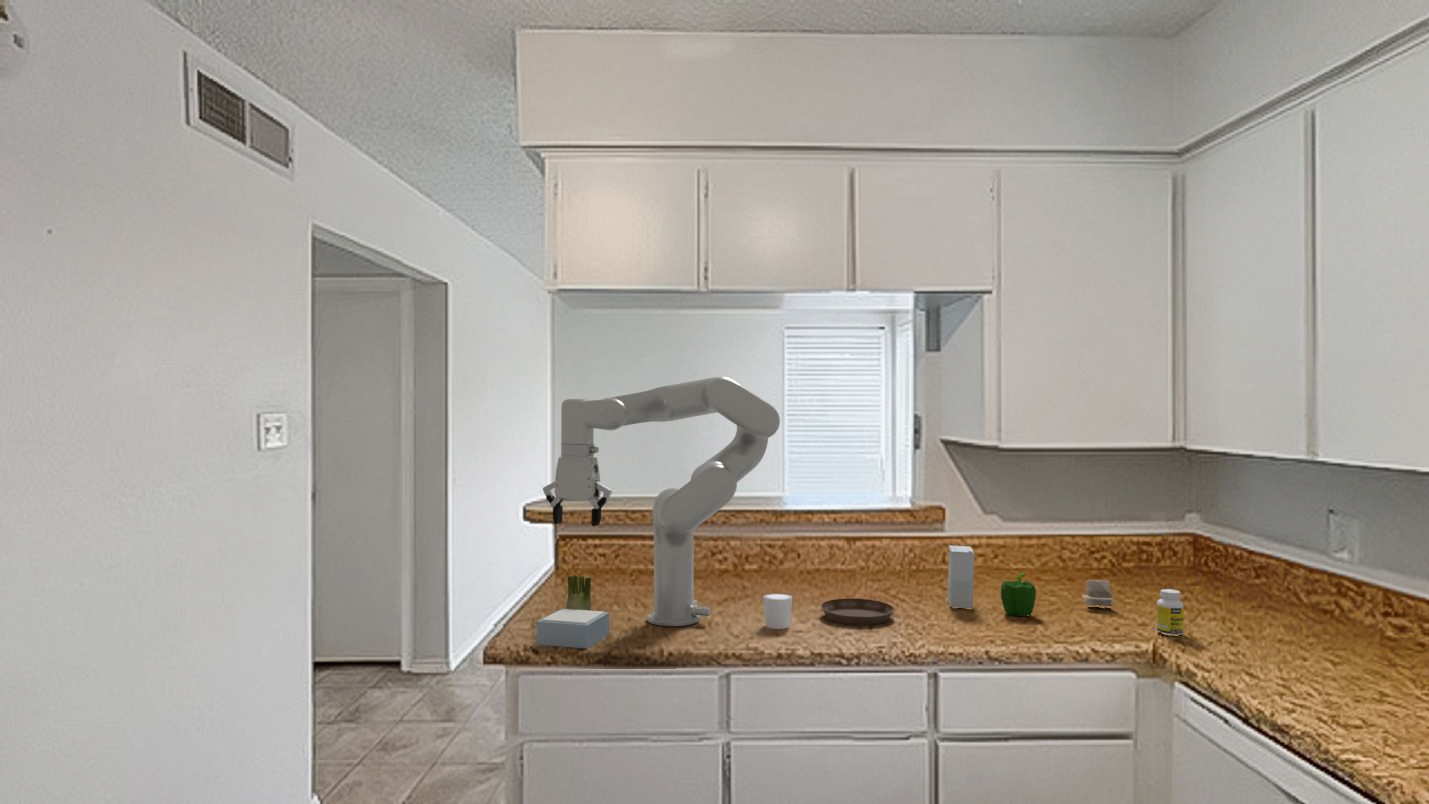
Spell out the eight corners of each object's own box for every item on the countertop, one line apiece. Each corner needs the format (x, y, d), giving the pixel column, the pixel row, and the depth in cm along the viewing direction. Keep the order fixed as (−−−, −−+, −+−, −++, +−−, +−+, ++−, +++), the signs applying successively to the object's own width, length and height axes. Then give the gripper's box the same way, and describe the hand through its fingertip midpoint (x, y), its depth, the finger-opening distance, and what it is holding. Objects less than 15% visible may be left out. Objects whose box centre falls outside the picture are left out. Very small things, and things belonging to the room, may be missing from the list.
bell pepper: (1018, 620, 220) (1018, 578, 220) (994, 612, 227) (994, 572, 227) (1044, 616, 223) (1044, 575, 223) (1019, 609, 231) (1020, 569, 231)
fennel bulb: (593, 626, 214) (593, 575, 214) (576, 630, 210) (576, 578, 210) (579, 622, 218) (579, 572, 218) (561, 625, 214) (561, 574, 214)
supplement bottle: (1171, 638, 203) (1171, 594, 203) (1151, 632, 208) (1151, 589, 208) (1188, 635, 206) (1189, 592, 206) (1168, 630, 211) (1168, 587, 211)
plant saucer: (905, 626, 215) (905, 613, 215) (832, 629, 212) (832, 616, 212) (879, 609, 232) (879, 597, 232) (812, 611, 230) (812, 599, 229)
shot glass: (762, 622, 218) (762, 592, 218) (791, 622, 218) (791, 593, 218) (763, 629, 211) (763, 599, 211) (793, 629, 211) (793, 599, 211)
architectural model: (1113, 613, 229) (1114, 583, 229) (1084, 612, 230) (1085, 582, 230) (1110, 609, 232) (1110, 580, 232) (1081, 609, 233) (1081, 579, 233)
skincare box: (947, 601, 240) (947, 545, 239) (970, 602, 239) (971, 545, 239) (950, 609, 231) (950, 550, 231) (974, 609, 230) (974, 551, 230)
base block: (609, 634, 207) (609, 611, 207) (587, 648, 195) (587, 623, 195) (560, 630, 210) (560, 607, 210) (536, 644, 198) (536, 620, 198)
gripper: (617, 451, 215) (617, 524, 215) (551, 449, 220) (551, 520, 221) (604, 453, 208) (604, 528, 208) (536, 451, 213) (536, 524, 213)
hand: (576, 524), depth 214 cm, fingers open, 9 cm apart
